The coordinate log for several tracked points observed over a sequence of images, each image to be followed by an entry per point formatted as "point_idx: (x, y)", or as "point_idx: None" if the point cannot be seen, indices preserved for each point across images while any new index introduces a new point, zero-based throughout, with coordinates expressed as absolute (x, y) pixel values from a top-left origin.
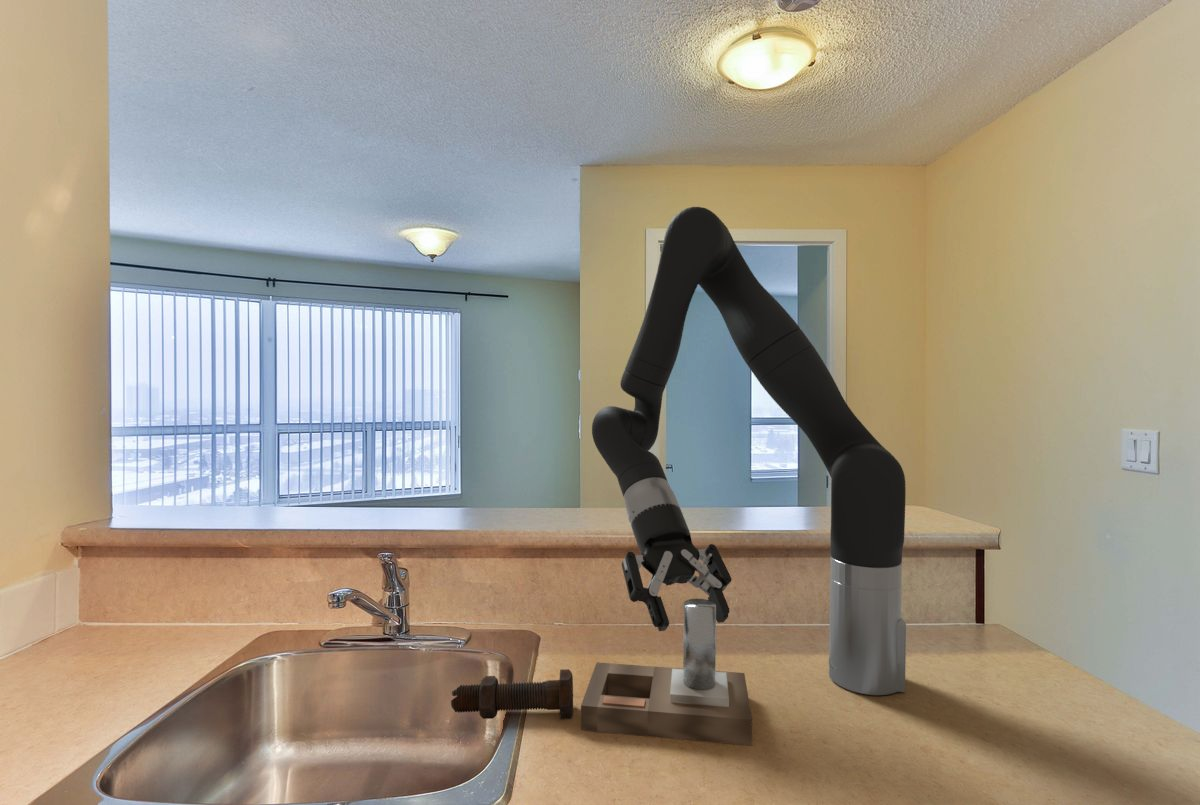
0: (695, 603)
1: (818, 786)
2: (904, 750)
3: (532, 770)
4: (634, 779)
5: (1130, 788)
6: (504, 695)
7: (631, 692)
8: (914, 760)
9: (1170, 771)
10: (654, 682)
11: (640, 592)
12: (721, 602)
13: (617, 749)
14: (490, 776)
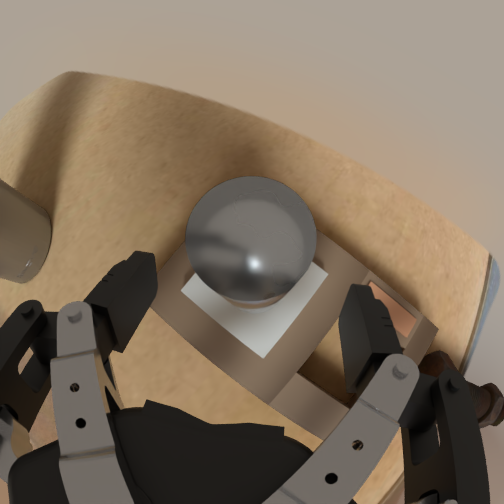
0: (263, 246)
1: (238, 120)
2: (119, 130)
3: (474, 277)
4: (403, 212)
5: (75, 76)
6: (484, 391)
7: (320, 387)
8: (129, 118)
9: (48, 85)
10: (308, 350)
11: (448, 371)
12: (124, 272)
13: (400, 270)
14: (497, 286)
